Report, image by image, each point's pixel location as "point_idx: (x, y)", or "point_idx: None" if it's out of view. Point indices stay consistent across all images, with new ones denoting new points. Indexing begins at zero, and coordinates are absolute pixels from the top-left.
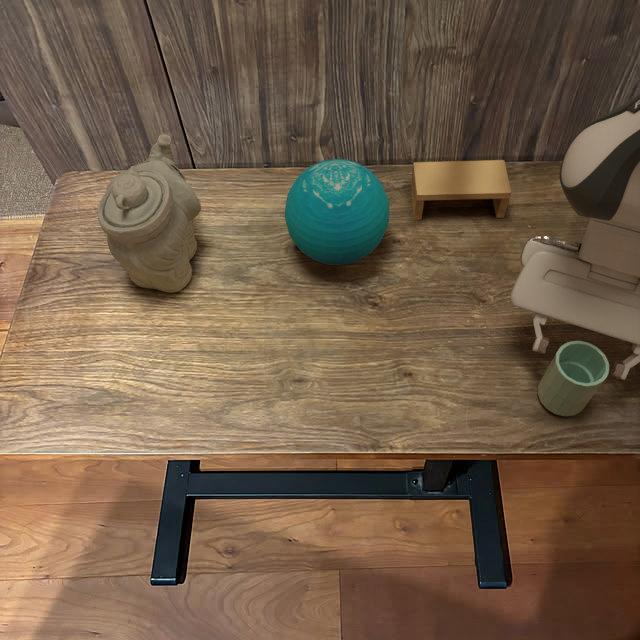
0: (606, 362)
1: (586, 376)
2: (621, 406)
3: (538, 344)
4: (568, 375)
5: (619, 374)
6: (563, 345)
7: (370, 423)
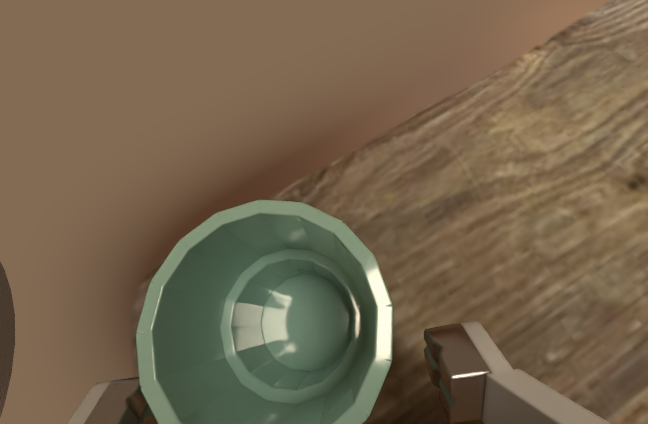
0: (153, 391)
1: (254, 370)
2: None
3: (478, 343)
4: (309, 374)
5: (115, 390)
6: (382, 374)
7: (602, 61)
